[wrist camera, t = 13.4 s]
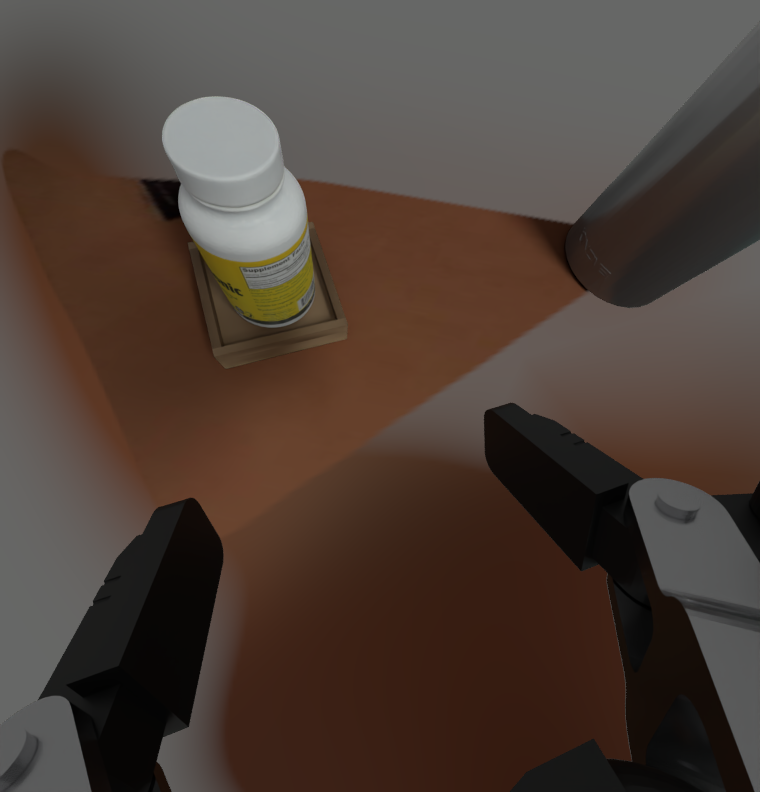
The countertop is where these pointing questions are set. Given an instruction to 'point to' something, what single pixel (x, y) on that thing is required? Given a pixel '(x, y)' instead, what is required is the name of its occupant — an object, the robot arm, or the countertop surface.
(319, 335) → the wooden tray
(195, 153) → the supplement bottle
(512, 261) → the countertop surface
